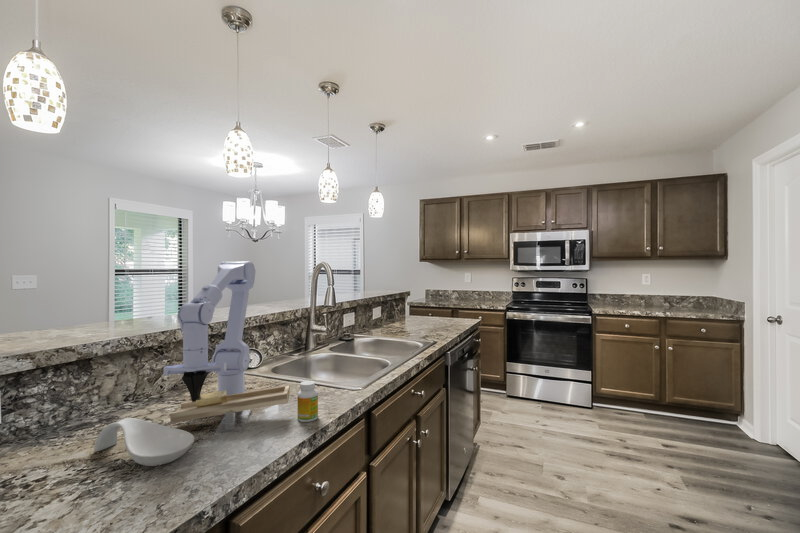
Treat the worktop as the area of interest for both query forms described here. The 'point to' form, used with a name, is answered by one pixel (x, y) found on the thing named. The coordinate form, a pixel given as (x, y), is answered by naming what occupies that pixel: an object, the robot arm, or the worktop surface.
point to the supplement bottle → (307, 402)
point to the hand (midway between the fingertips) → (195, 400)
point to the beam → (234, 403)
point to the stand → (233, 421)
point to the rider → (211, 399)
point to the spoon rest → (147, 441)
